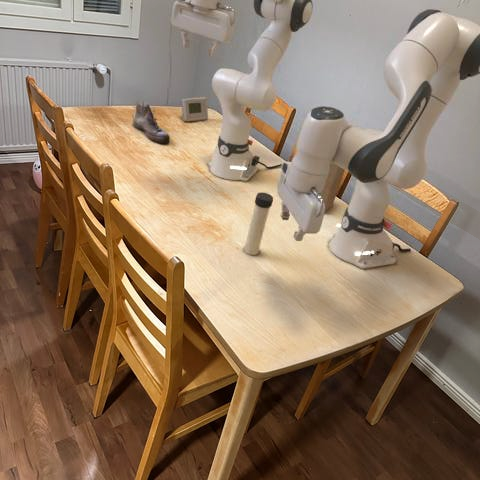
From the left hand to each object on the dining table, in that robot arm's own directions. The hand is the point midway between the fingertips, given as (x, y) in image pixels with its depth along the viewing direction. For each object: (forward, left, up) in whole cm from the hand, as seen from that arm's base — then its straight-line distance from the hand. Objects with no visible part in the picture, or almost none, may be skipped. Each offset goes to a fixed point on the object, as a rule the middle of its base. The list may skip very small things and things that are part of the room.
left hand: (198, 51), depth 131 cm
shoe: (-34, -44, -48) cm, 73 cm away
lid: (+11, +37, -29) cm, 48 cm away
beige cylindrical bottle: (+11, +37, -48) cm, 61 cm away
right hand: (+23, +51, -28) cm, 62 cm away
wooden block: (-37, +38, -48) cm, 71 cm away
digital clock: (-69, -47, -48) cm, 96 cm away
